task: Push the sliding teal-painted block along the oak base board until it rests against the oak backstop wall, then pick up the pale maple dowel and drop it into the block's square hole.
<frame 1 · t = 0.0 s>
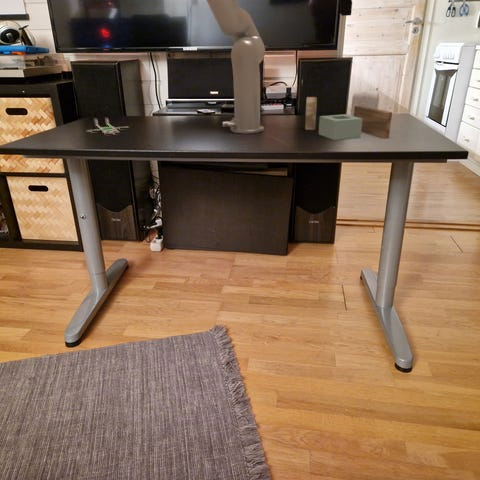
hand: (345, 14, 128), 37 cm above the table, tool pointing down, fingers open, 9 cm apart
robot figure: (107, 131, 161), on the table
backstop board: (346, 138, 137), on the table
block: (339, 126, 134), point 4 cm above the table, slide at 0.0 cm
photo printer: (362, 123, 163), on the table
dowel: (309, 132, 148), on the table
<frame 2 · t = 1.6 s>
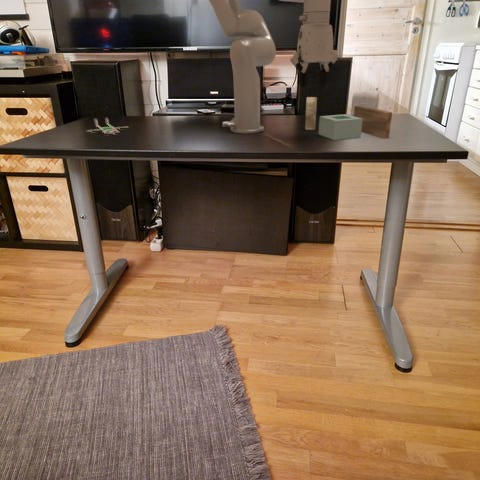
hand: (312, 85, 125), 18 cm above the table, tool pointing down, fingers open, 5 cm apart
nothing on the table moved.
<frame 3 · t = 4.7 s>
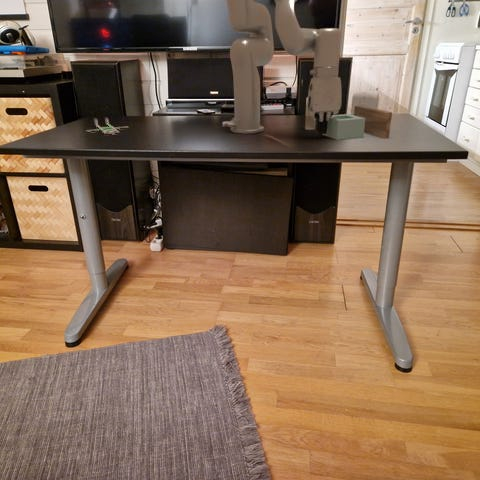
hand: (321, 133, 133), 3 cm above the table, tool pointing down, fingers closed
block: (342, 126, 135), point 4 cm above the table, slide at 1.1 cm, touching gripper
everything else where it was.
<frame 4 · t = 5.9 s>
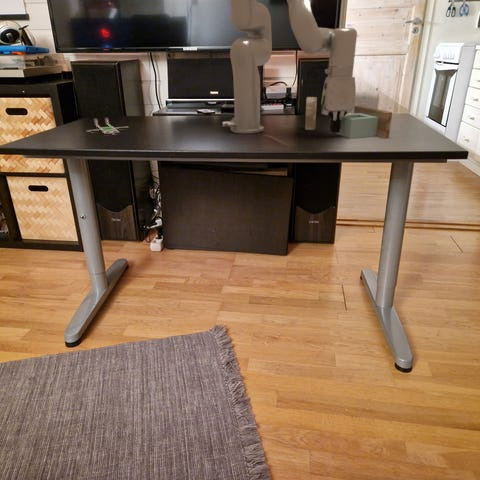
hand: (334, 131, 135), 3 cm above the table, tool pointing down, fingers closed
block: (355, 125, 136), point 4 cm above the table, slide at 6.0 cm, touching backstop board, gripper
everything else where it was.
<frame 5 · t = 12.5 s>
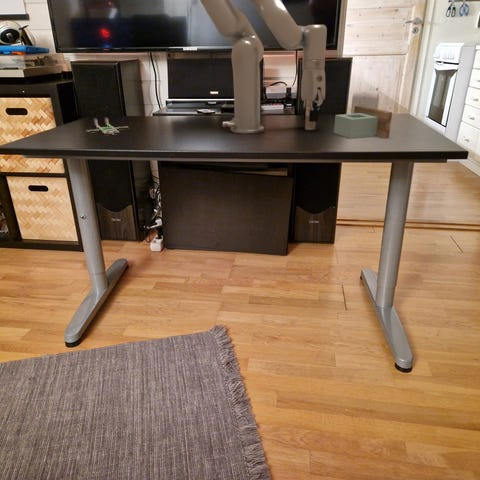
hand: (310, 120, 146), 4 cm above the table, tool pointing down, fingers closed on dowel, 3 cm apart
block: (355, 125, 136), point 4 cm above the table, slide at 6.0 cm, touching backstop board
dowel: (309, 132, 148), on the table, touching gripper
everything else where it was.
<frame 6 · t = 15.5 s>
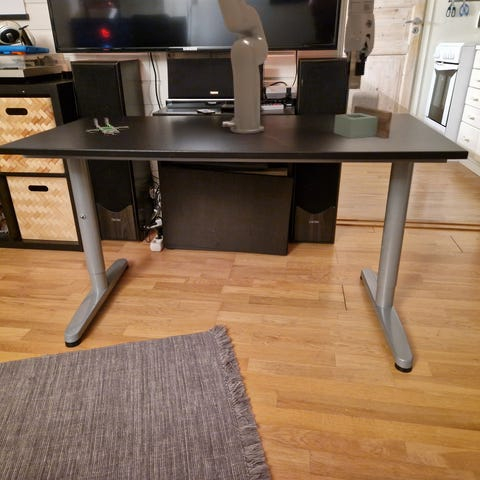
hand: (355, 74, 130), 20 cm above the table, tool pointing down, fingers closed on dowel, 3 cm apart
dowel: (354, 88, 132), point 16 cm above the table, touching gripper
everything else where it was.
when the fingers open (9 cm above the table, at t = 18.4 s): dowel drops 3 cm, resting on block.
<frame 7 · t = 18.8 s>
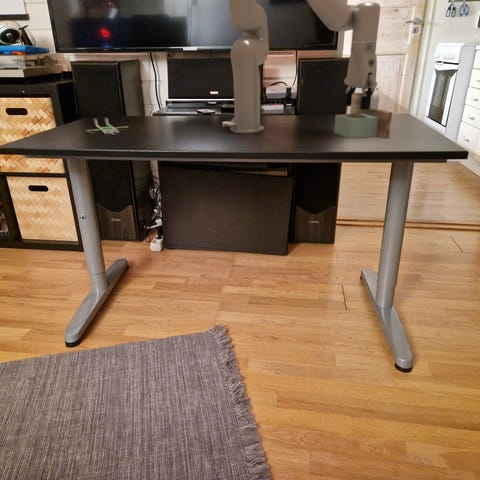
hand: (357, 107, 133), 10 cm above the table, tool pointing down, fingers open, 8 cm apart
block: (355, 125, 136), point 4 cm above the table, slide at 6.0 cm, touching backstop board, dowel
dowel: (354, 131, 137), point 2 cm above the table, touching block
everything else where it was.
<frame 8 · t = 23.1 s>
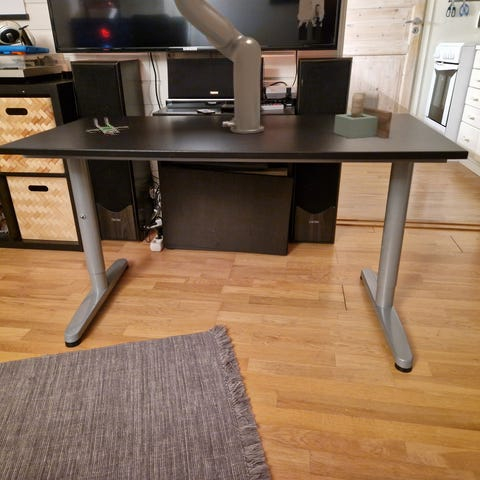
hand: (308, 40, 142), 30 cm above the table, tool pointing down, fingers open, 9 cm apart
nothing on the table moved.
at the end: block slide at 6.0 cm; dowel 0.1 cm from the target spot, point 2.1 cm above the table; dowel tilted 1° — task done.
